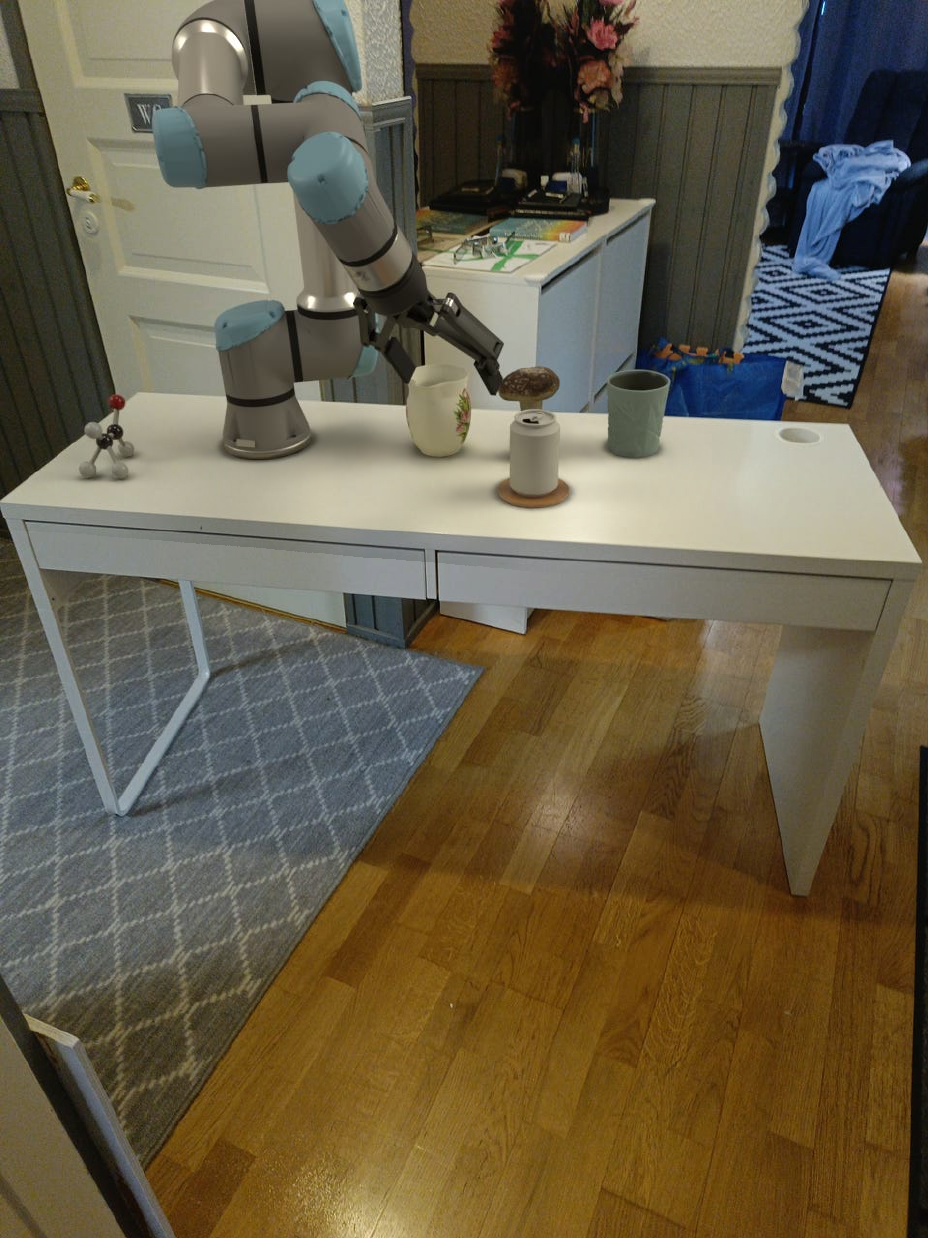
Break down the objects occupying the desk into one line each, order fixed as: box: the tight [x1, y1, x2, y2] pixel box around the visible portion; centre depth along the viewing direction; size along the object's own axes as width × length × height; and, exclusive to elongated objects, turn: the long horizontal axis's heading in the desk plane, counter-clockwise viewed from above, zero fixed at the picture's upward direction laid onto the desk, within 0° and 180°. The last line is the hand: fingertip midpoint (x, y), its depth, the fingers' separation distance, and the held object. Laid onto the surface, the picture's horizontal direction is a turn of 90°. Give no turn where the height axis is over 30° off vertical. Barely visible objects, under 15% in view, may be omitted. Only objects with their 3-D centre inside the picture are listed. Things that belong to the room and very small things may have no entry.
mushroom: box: [497, 366, 561, 412], centre depth 144 cm, size 9×9×15 cm
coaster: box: [497, 477, 570, 509], centre depth 137 cm, size 11×11×1 cm
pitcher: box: [405, 363, 472, 458], centre depth 149 cm, size 11×18×14 cm, turn 165°
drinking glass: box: [606, 369, 671, 459], centre depth 147 cm, size 10×10×12 cm
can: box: [509, 409, 561, 497], centre depth 134 cm, size 8×8×12 cm
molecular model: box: [78, 393, 135, 480], centre depth 146 cm, size 8×12×11 cm
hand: (452, 381), depth 118 cm, fingers open, 13 cm apart
